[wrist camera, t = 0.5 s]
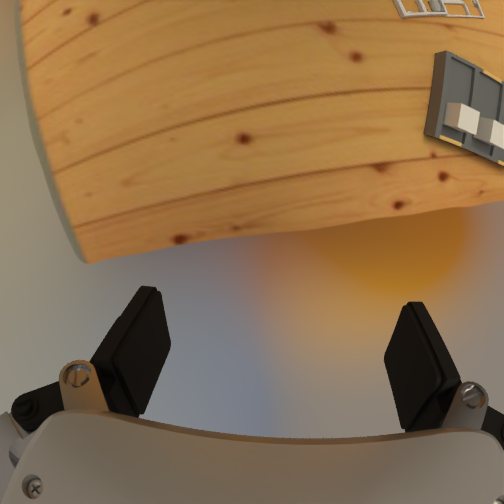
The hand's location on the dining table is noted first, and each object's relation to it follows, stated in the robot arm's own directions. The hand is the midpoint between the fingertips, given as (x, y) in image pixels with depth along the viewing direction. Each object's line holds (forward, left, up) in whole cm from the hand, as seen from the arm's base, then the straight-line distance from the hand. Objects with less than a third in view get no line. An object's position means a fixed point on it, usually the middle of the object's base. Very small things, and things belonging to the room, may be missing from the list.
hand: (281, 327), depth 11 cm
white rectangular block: (-12, +20, -27) cm, 36 cm away
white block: (-12, +26, -27) cm, 39 cm away
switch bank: (-15, +26, -30) cm, 42 cm away
